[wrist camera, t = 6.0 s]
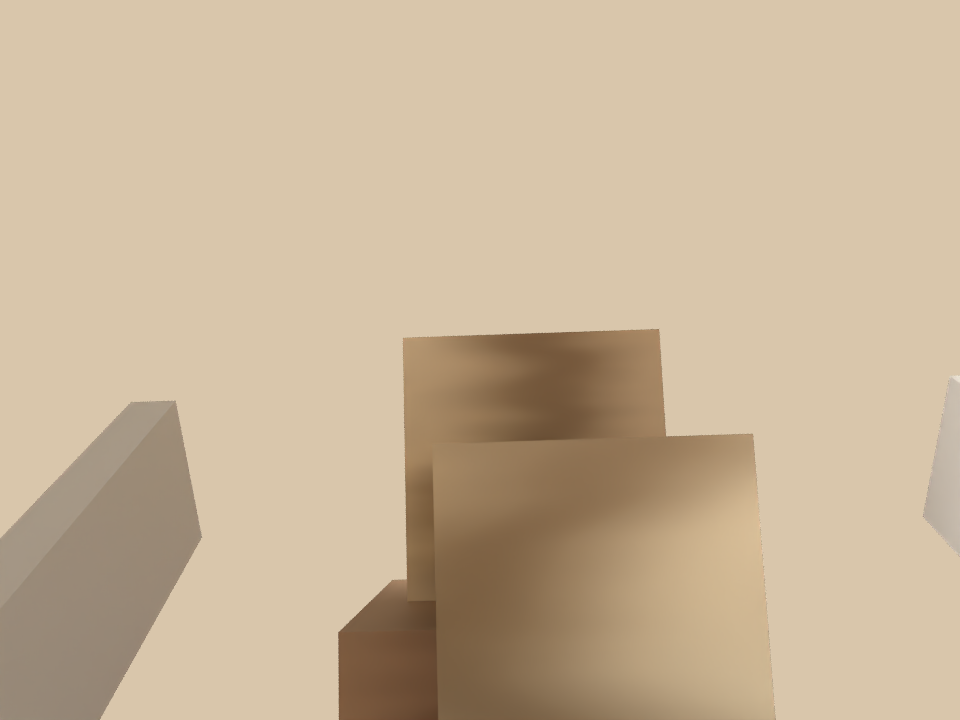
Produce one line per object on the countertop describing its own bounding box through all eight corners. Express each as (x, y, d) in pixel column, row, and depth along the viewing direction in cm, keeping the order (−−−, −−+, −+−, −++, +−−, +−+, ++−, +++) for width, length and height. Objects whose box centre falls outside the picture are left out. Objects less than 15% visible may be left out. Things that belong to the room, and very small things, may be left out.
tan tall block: (270, 788, 8) (274, 146, 9) (423, 579, 26) (418, 361, 27) (951, 770, 8) (881, 123, 9) (644, 573, 26) (631, 354, 27)
